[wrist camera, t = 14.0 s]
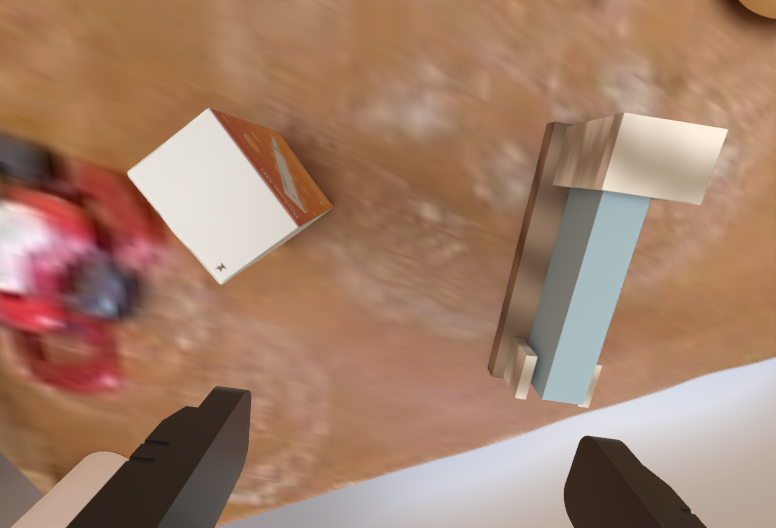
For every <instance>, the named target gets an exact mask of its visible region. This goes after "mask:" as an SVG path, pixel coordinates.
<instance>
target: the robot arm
mask: <svg viewBox="0 0 776 528" xmlns="http://www.w3.org/2000/svg"><path fill="white" fill-rule="evenodd" d="M250 410H251V392H250V391H249V390H242V389H235V388H227V387H220V386H217V387H215V388H214V389H213V390H212V391H211V392H210V394H209V395H208V396H207V397H206V398H205V400H204V401H203V402H202V403H201V405H200V406H199V407H198V408H197V407H189V406H186V407H184V408H182V409H181V410H179V411H177V412H176V413H174V414H173V415H171V416H169V417H168V418H166V419H164V420H163V421H162V422H161V423H160V424H159V425H158V426H157V427H156V428H155V430H154V431H153V432H152V433H151V434H150V435H149V436H148V437H147V438H146V439H145V443H144V444H141V445H140V446H139V447H138V448H137V449H136V450H135V452H134V453H133V454H132V455H131V456H130V459H129V461H126V462H125V463H124V464H123V465H122V466H121V467H120V468H119V469H118V470H117V471H116V473H115V474H114V475H113V476H112V477H111V478H110V479H109V480H108V481H107V482H106V484H105V485H104V486H103V487H102V488H101V489H100V490H99V491H98V492H97V494H96V495H95V496H94V497H93V498H92V499H91V500H90V501H89V502H88V503H87V505H86V506H85V507H84V508H83V509H82V510H81V511H80V512H79V513H78V514H77V516H76V517H75V518H74V519H73V520H72V521H71V522H70V523H69V524H68V526H67V527H66V528H214V527H215V525H216V523H217V521H218V519H219V517H220V515H221V513H222V511H223V509H224V507H225V505H226V503H227V501H228V499H229V497H230V495H231V493H232V491H233V488H234V486H235V484H236V482H237V480H238V478H239V476H240V474H241V472H242V469H243V466H244V463H245V460H246V456H247V451H248V444H249V427H250ZM564 502H565V507H566V511H567V514H568V516H569V519H570V521H571V523H572V525H573V526H574V528H707V527H706V526H705V525H704V524H703V523H702V522H701V521H700V520H699V518H698V517H697V516H696V515H695V514H692V513H691V510H690V508H689V507H688V506H687V505H686V504H685V503H684V501H682V499H681V498H680V497H679V496H678V495H677V494H676V492H675V491H674V490H673V489H672V488H671V487H670V486H669V485H667V484H666V483H665V482H664V481H663V480H661V479H660V478H659V477H658V476H656V475H655V474H654V473H652V472H651V471H650V470H649V469H647V468H646V467H645V466H643V465H642V464H641V462H640V461H639V460H638V459H637V458H636V457H635V455H634V454H633V453H632V452H631V451H630V450H629V449H628V447H627V446H626V445H625V444H624V443H623V442H621V441H620V440H615V439H607V438H600V437H593V436H584V437H583V438H582V439H581V440H580V442H579V445H578V448H577V451H576V454H575V457H574V460H573V463H572V466H571V469H570V472H569V475H568V477H567V481H566V483H565V488H564Z"/></svg>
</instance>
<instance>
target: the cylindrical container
mask: <svg viewBox="0 0 776 528" xmlns="http://www.w3.org/2000/svg"><path fill="white" fill-rule="evenodd" d="M126 461H129V459H127V458H126V457H124V456H122V455H120V454H117V453H113V452H107V451H100V452H95V453H92V454H90V455H88V456H86V457H85V458H84V459H83V460H82V461H81V462H80V463H79V464H77V465H76V466H75V467H74V468H73V469H72V470H71V471H70V472H69V473H68V474H67V475H66V476H65V477H64V478H63V479H62V480H61V481H60V482H58V483H57V484H56V485H55V486H54V487H53V488H52V489H51V490H50V491H49V492H48V493H47V494H46V495H45V496H44V497H43V498H42V499H40V500H39V501H38V502H37V503H36V504H35V505H34V506H33V507H32V508H31V509H30V510H29V511H28V512H27V513H26V514H25V515H24V516H23V517H21V519H19V520H18V521H17V522H16V523H15V524H14V525H13V526H12V527H11V528H66V527H67V526H68V524H69V523H70V522H71V521H72V520H73V519H74V518H75V517H76V516H77V514H78V513H79V512H80V511H81V510H82V509H83V508H84V507H85V506H86V505H87V503H88V502H89V501H90V500H91V499H92V498H93V497H94V496H95V495H96V494H97V492H98V491H99V490H100V489H101V488H102V487H103V486H104V485H105V484H106V482H107V481H108V480H109V479H110V478H111V477H112V476H113V475H114V474H115V473H116V471H117V470H118V469H119V468H120V467H121V466H122V465H123V464H124V463H125V462H126Z"/></svg>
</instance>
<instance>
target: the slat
mask: <svg viewBox="0 0 776 528" xmlns="http://www.w3.org/2000/svg"><path fill="white" fill-rule="evenodd" d="M650 200H651V198H649V197H643V196H636V195H630V194H623V193H617V192H610V191H602V190H591V189H581V188H571V187H570V191H569V194H568V198H567V202H566V205H565V209H564V213H563V216H562V220H561V224H560V227H559V231H558V235H557V239H556V242H555V246H554V250H553V253H552V257H551V261H550V264H549V268H548V272H547V275H546V279H545V283H544V286H543V290H542V294H541V297H540V301H539V305H538V309H537V312H536V316H535V320H534V323H533V327H532V331H531V334H530V338H529V342H528V345H529V346H530V348H531V349H532V350H533V351H534V353H535V354H536V355H537V361H536V365H535V368H534V372H533V375H532V379H531V384H532V385H533V387H534V388H535V390H536V391H537V393H538V394H539V396H540V397H541V399H543V400H550V401H557V402H565V403H572V404H580V405H583V403H584V400H585V397H586V394H587V391H588V388H589V385H590V382H591V379H592V376H593V373H594V370H595V367H596V364H597V361H598V358H599V355H600V352H601V349H602V346H603V343H604V339H605V336H606V333H607V330H608V327H609V324H610V321H611V318H612V315H613V312H614V309H615V306H616V303H617V300H618V297H619V294H620V291H621V288H622V285H623V282H624V279H625V276H626V273H627V270H628V267H629V264H630V261H631V258H632V255H633V252H634V248H635V245H636V242H637V239H638V236H639V233H640V230H641V227H642V224H643V221H644V218H645V215H646V212H647V209H648V206H649V203H650Z"/></svg>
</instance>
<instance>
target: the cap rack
mask: <svg viewBox="0 0 776 528" xmlns="http://www.w3.org/2000/svg"><path fill="white" fill-rule="evenodd" d="M727 131H728V129H722V128H716V127H710V126H704V125H698V124H691V123H685V122H679V121H673V120H667V119H660V118H654V117H648V116H642V115H636V114H629V113H621V114H617V115H613V116H609V117H604V118H600V119H596V120H592V121H588V122H584V123H580V124H576V125H571V124H565V123H559V122H553V123H550V124H547V128H546V132H545V136H544V141H543V145H542V149H541V153H540V157H539V161H538V165H537V169H536V173H535V177H534V182H533V186H532V190H531V194H530V198H529V202H528V206H527V210H526V214H525V218H524V223H523V227H522V231H521V235H520V239H519V243H518V247H517V251H516V255H515V259H514V263H513V268H512V272H511V276H510V280H509V284H508V288H507V292H506V296H505V300H504V304H503V309H502V313H501V317H500V321H499V325H498V329H497V333H496V337H495V341H494V345H493V350H492V354H491V358H490V362H489V366H488V370H489V372H490V374H491V376H492V377H498V378H504V379H505V381H506V383H507V384H508V386H509V388H510V390H511V392H512V394H513V395H514V397H515V398H519V399H526V397H527V393H528V390H529V386H530V382H531V379H532V375H533V372H534V368H535V365H536V361H537V355H536V354H535V353H534V351H533V350H532V349H531V348H530V346H529V345H528V342H529V338H530V334H531V331H532V327H533V323H534V320H535V316H536V312H537V309H538V305H539V301H540V297H541V294H542V290H543V286H544V283H545V279H546V275H547V272H548V268H549V264H550V261H551V257H552V253H553V250H554V246H555V242H556V239H557V235H558V231H559V227H560V224H561V220H562V216H563V213H564V209H565V205H566V202H567V198H568V194H569V191H570V187H571V188H581V189H591V190H602V191H610V192H617V193H623V194H630V195H636V196H643V197H649V198H651V199H653V200H662V201H671V202H679V203H688V204H697V205H701V202H702V200H703V197H704V194H705V191H706V189H707V186H708V183H709V180H710V178H711V175H712V172H713V169H714V167H715V164H716V161H717V158H718V156H719V153H720V150H721V147H722V145H723V142H724V139H725V136H726V134H727ZM601 368H602V365H601V364H600V363H599V362H598V361H597V364H596V367H595V370H594V373H593V376H592V379H591V382H590V385H589V388H588V391H587V394H586V397H585V400H584V403H583V405H580V404H576V405H577V406H579V407H587V408H588V407H589V404H590V401H591V398H592V395H593V392H594V389H595V386H596V383H597V380H598V377H599V374H600V371H601Z"/></svg>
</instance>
